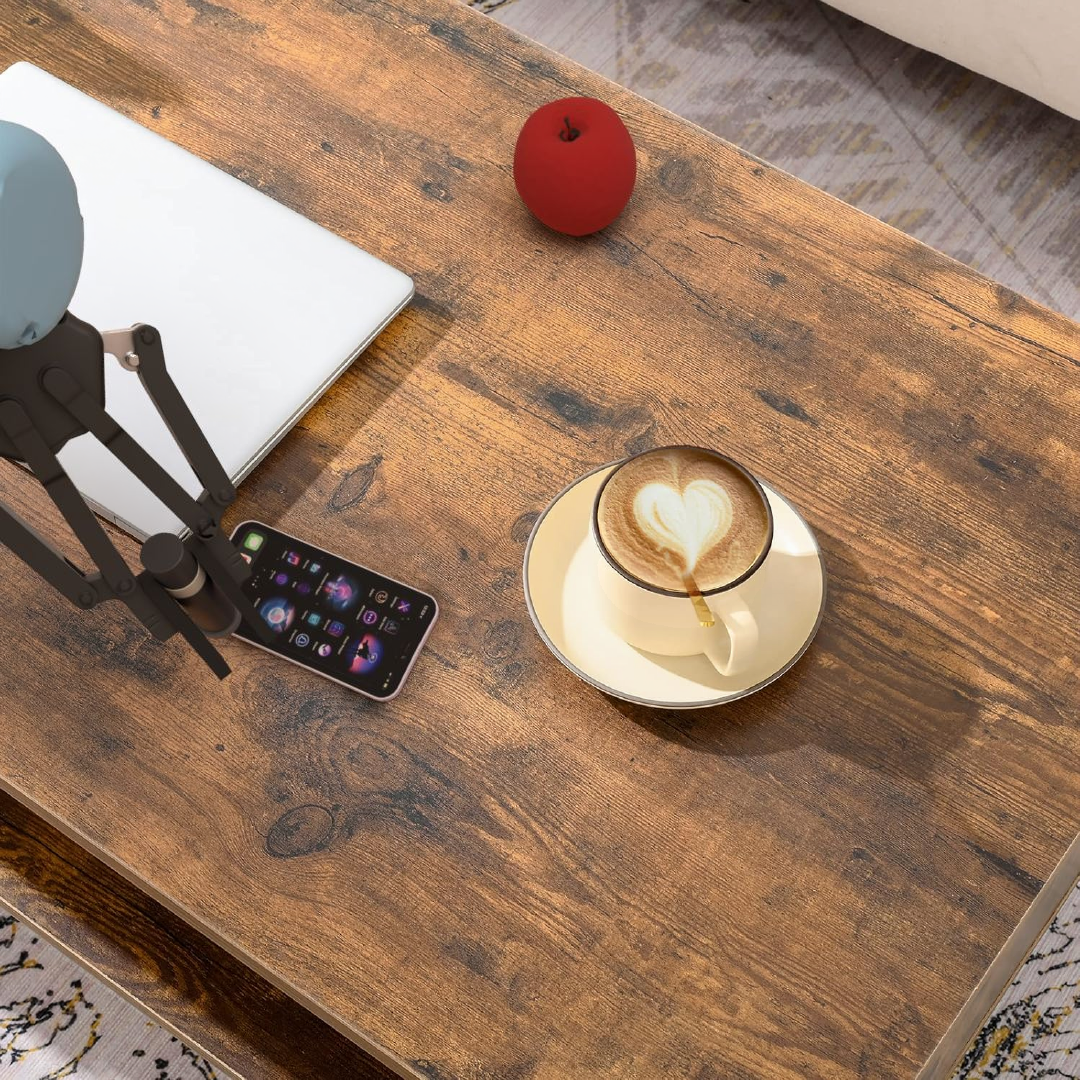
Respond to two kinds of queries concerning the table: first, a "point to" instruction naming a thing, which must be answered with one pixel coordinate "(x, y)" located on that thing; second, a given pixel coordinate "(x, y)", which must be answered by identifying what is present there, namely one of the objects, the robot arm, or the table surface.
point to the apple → (575, 165)
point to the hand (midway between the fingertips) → (243, 650)
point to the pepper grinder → (190, 585)
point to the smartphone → (332, 612)
